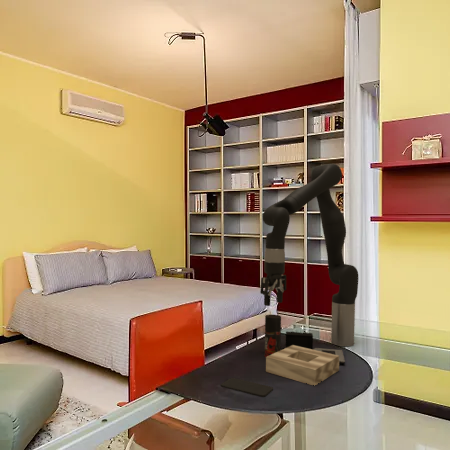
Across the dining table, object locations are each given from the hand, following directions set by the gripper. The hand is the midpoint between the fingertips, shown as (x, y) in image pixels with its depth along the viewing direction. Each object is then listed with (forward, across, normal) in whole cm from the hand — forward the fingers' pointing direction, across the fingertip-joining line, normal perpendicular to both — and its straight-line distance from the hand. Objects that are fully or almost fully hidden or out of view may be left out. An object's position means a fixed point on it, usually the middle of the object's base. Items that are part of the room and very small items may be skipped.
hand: (273, 303), depth 155 cm
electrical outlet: (+20, -12, +17) cm, 29 cm away
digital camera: (+20, -13, +4) cm, 24 cm away
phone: (+20, +30, +10) cm, 38 cm away
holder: (+20, +6, +16) cm, 26 cm away
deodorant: (+20, 0, 0) cm, 20 cm away
